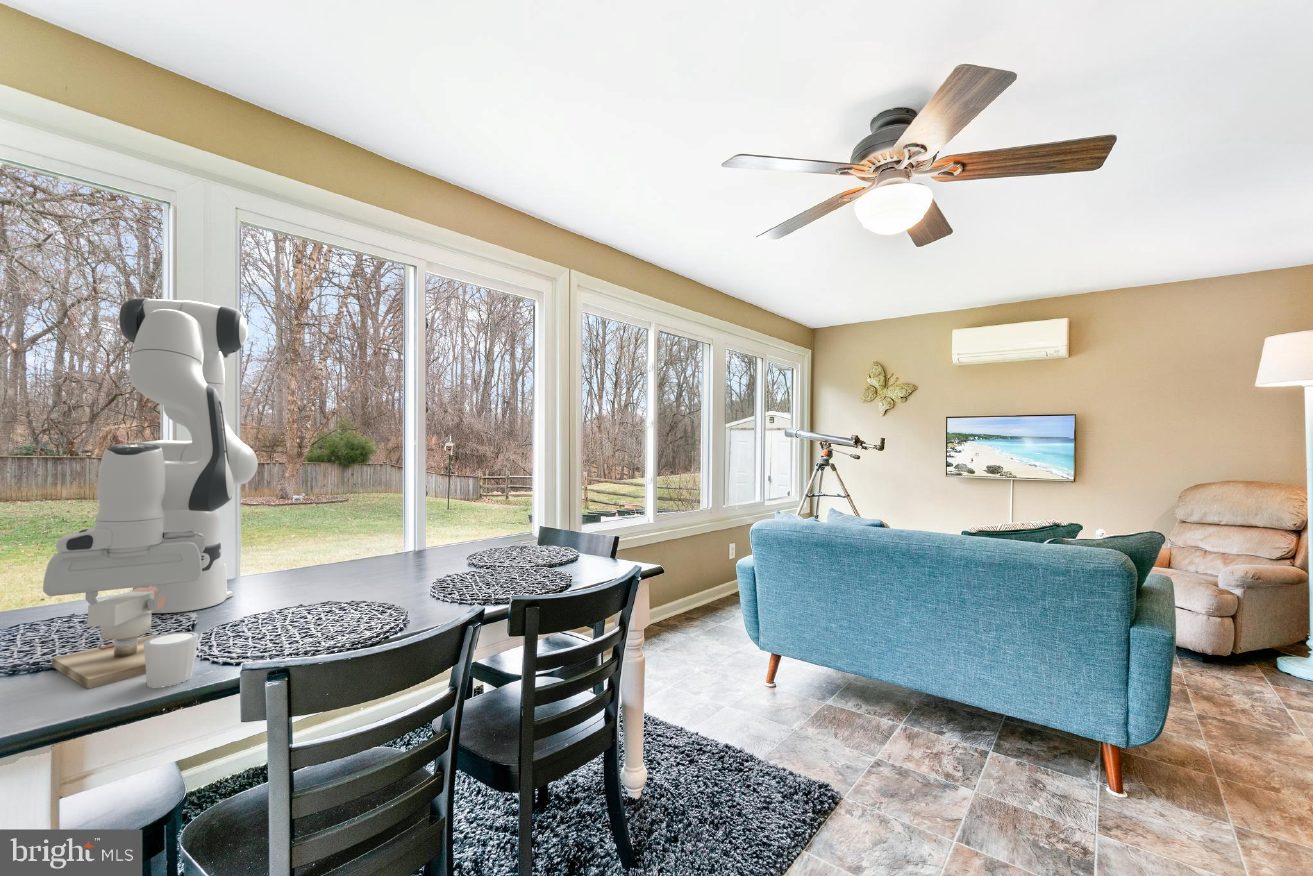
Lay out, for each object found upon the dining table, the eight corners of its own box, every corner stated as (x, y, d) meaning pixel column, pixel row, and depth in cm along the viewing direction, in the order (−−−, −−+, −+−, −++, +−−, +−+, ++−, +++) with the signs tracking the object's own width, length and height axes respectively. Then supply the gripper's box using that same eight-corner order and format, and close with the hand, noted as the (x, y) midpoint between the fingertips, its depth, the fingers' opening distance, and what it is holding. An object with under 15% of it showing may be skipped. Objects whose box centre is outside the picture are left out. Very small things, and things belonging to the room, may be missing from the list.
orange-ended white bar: (78, 644, 92) (80, 605, 92) (131, 622, 103) (133, 587, 103) (121, 644, 93) (123, 605, 93) (169, 622, 104) (171, 587, 104)
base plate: (51, 666, 95) (52, 656, 95) (154, 642, 107) (155, 633, 107) (88, 688, 88) (88, 678, 88) (194, 659, 100) (195, 650, 100)
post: (110, 655, 97) (111, 635, 97) (132, 650, 100) (133, 630, 100) (117, 659, 95) (118, 638, 96) (140, 653, 98) (140, 633, 98)
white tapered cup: (131, 691, 87) (133, 647, 87) (157, 673, 94) (159, 632, 94) (182, 687, 89) (184, 644, 89) (205, 670, 96) (206, 630, 96)
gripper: (205, 527, 107) (202, 599, 107) (49, 536, 93) (46, 618, 93) (206, 532, 102) (203, 607, 102) (42, 542, 89) (38, 628, 89)
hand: (126, 612), depth 98 cm, fingers closed on orange-ended white bar, 5 cm apart
